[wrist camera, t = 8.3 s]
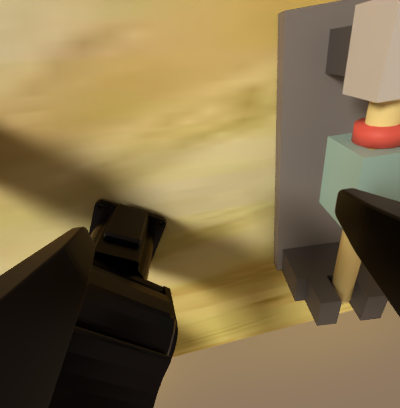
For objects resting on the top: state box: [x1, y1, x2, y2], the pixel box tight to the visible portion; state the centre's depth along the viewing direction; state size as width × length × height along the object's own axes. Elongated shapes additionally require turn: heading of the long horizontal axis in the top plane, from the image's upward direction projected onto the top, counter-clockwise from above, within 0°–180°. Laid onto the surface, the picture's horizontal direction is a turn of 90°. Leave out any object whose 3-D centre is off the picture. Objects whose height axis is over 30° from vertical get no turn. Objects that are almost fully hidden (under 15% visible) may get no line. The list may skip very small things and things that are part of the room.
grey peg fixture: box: [274, 0, 400, 326], centre depth 18 cm, size 22×8×8 cm, turn 8°
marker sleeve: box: [319, 133, 400, 228], centre depth 15 cm, size 5×4×4 cm
